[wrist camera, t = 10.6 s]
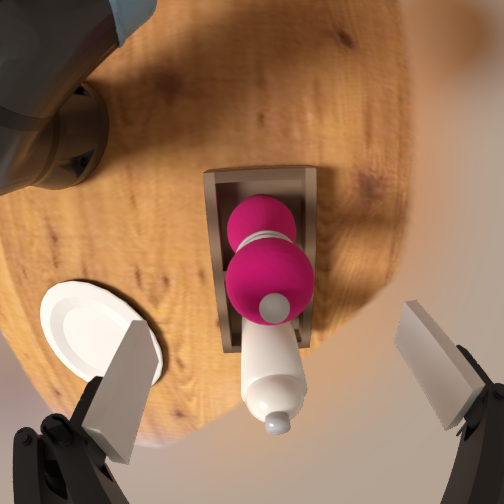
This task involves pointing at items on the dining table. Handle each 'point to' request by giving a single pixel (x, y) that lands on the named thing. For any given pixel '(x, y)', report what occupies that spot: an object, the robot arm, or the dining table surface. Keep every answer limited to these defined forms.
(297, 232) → the wooden compartment tray
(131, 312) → the plate
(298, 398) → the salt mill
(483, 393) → the robot arm
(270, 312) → the pepper mill
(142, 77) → the dining table surface
